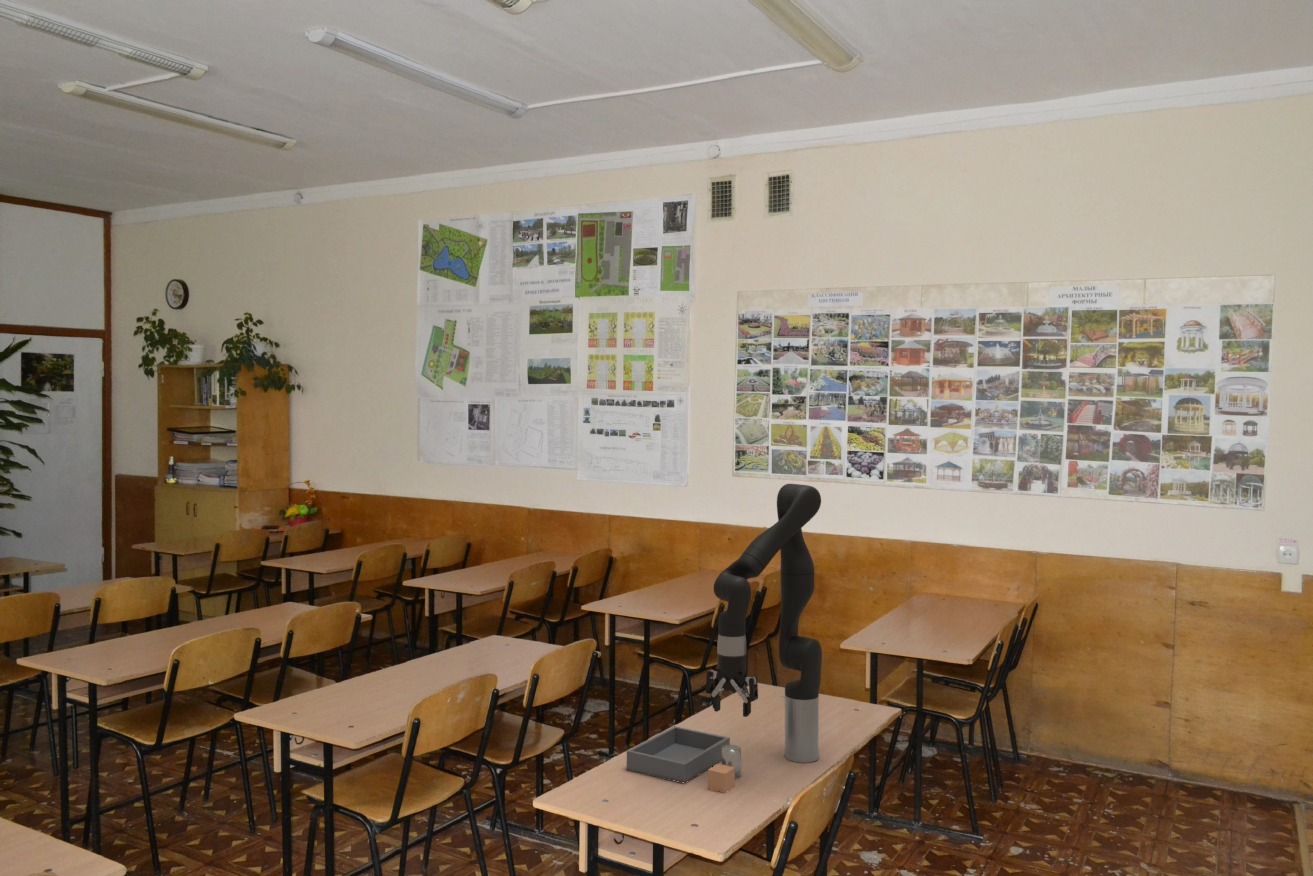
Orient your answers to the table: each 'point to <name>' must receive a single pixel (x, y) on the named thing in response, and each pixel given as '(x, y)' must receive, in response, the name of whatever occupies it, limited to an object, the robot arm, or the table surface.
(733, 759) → the cylinder
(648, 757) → the tote
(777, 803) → the table surface
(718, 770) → the cube
